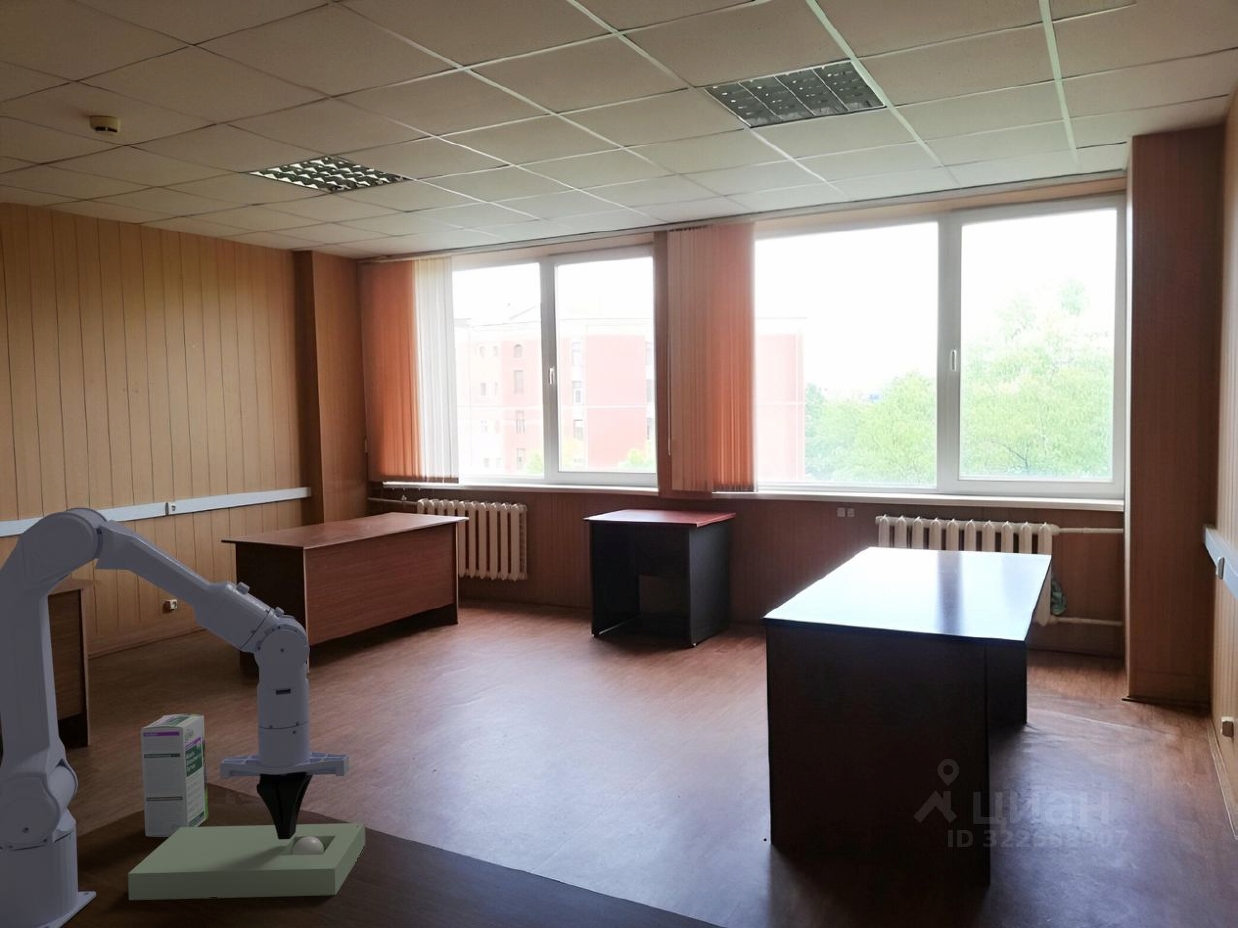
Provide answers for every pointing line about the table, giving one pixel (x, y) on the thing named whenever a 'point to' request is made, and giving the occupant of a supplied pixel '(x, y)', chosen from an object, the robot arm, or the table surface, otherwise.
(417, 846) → the table surface
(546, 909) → the table surface
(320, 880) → the green board
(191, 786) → the syrup box
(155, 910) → the table surface
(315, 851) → the ball
